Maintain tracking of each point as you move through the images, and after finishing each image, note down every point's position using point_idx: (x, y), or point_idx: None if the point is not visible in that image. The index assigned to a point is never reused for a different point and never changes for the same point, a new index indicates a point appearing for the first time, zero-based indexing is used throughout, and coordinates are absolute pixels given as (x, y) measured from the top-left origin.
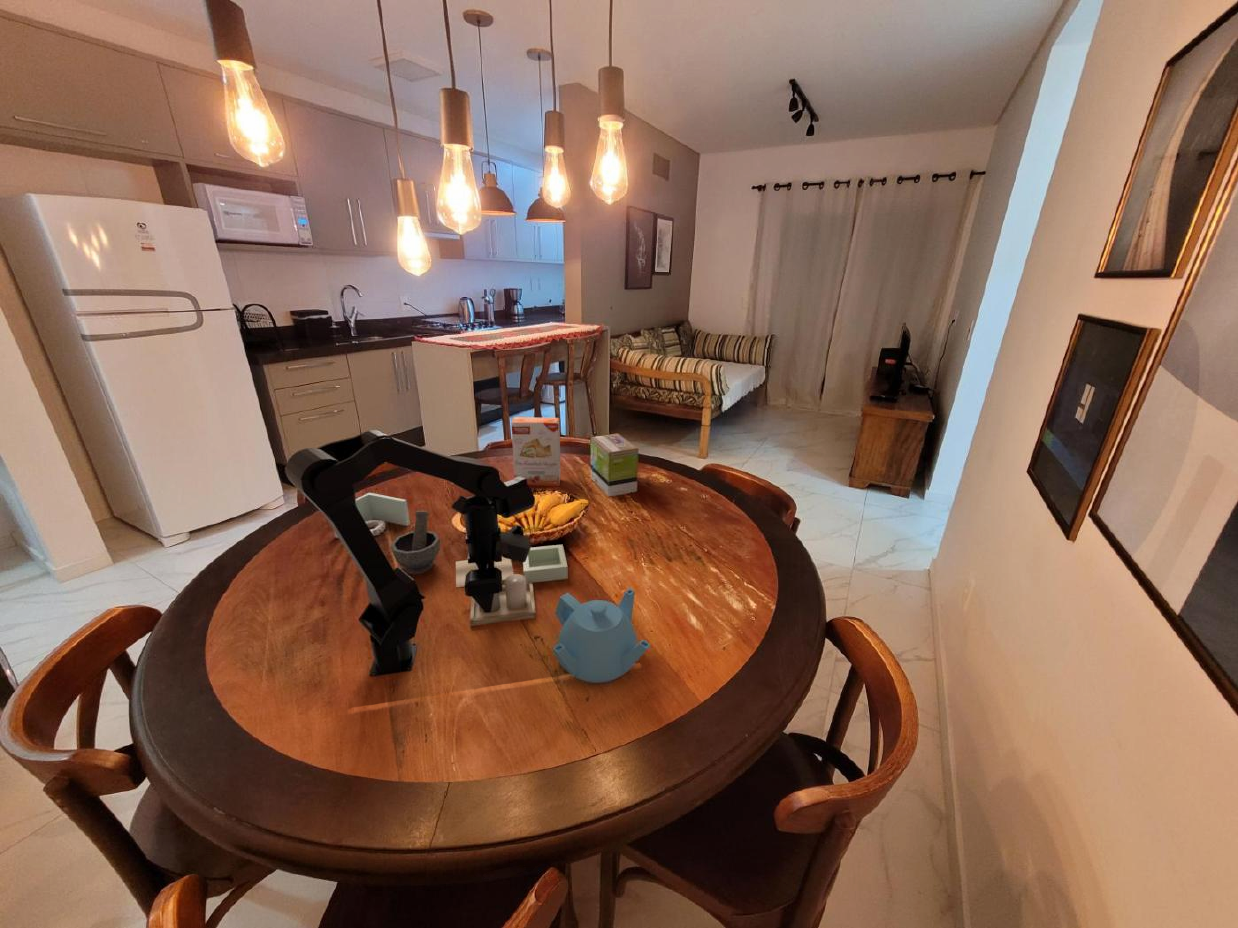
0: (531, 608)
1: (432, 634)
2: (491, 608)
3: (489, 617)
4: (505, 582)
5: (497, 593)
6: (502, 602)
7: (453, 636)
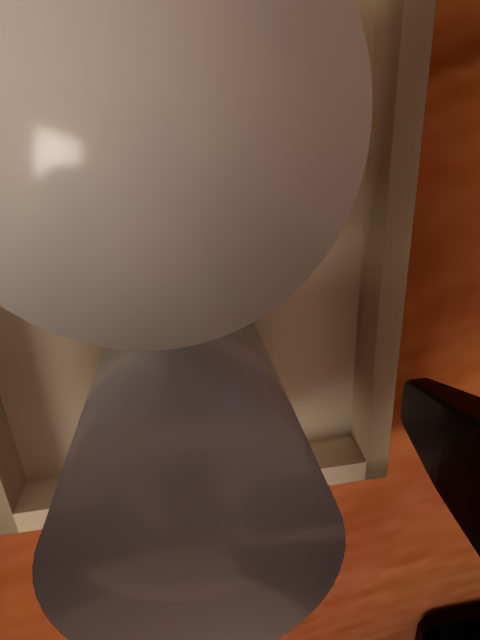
0: None
1: (361, 584)
2: (463, 391)
3: (387, 361)
4: (209, 330)
5: (245, 372)
6: None
7: (404, 501)
